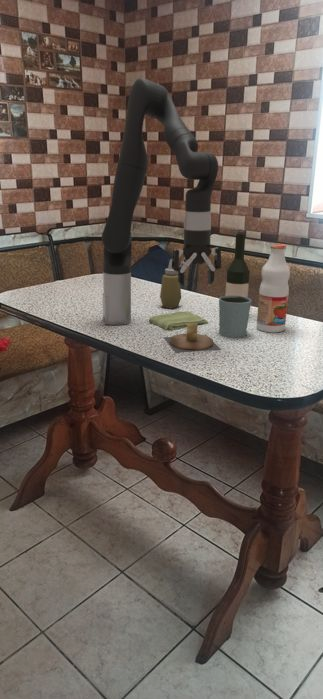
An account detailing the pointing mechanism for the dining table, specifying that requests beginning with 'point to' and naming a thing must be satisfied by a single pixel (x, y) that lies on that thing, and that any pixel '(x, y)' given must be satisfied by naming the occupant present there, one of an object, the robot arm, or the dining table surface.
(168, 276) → the squeeze bottle
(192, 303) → the dining table surface
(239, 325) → the grey-blue cup
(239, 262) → the wine bottle
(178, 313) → the washcloth
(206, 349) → the mat
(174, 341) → the lid
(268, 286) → the fruit juice
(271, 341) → the dining table surface
